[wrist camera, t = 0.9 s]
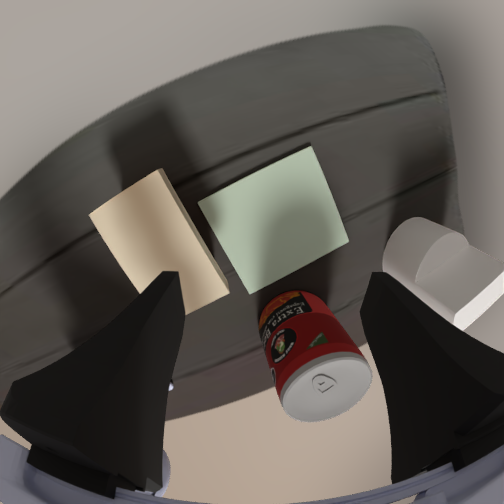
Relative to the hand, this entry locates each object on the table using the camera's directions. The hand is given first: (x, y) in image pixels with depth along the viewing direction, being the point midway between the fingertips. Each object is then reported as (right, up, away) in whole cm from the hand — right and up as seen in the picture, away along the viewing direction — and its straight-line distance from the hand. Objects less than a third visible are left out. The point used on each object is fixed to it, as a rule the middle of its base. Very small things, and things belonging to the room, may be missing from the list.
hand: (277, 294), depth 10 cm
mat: (+2, +4, +15) cm, 16 cm away
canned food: (+3, -6, +20) cm, 21 cm away
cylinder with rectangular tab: (+18, +1, +19) cm, 26 cm away
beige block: (-8, +2, +10) cm, 13 cm away
